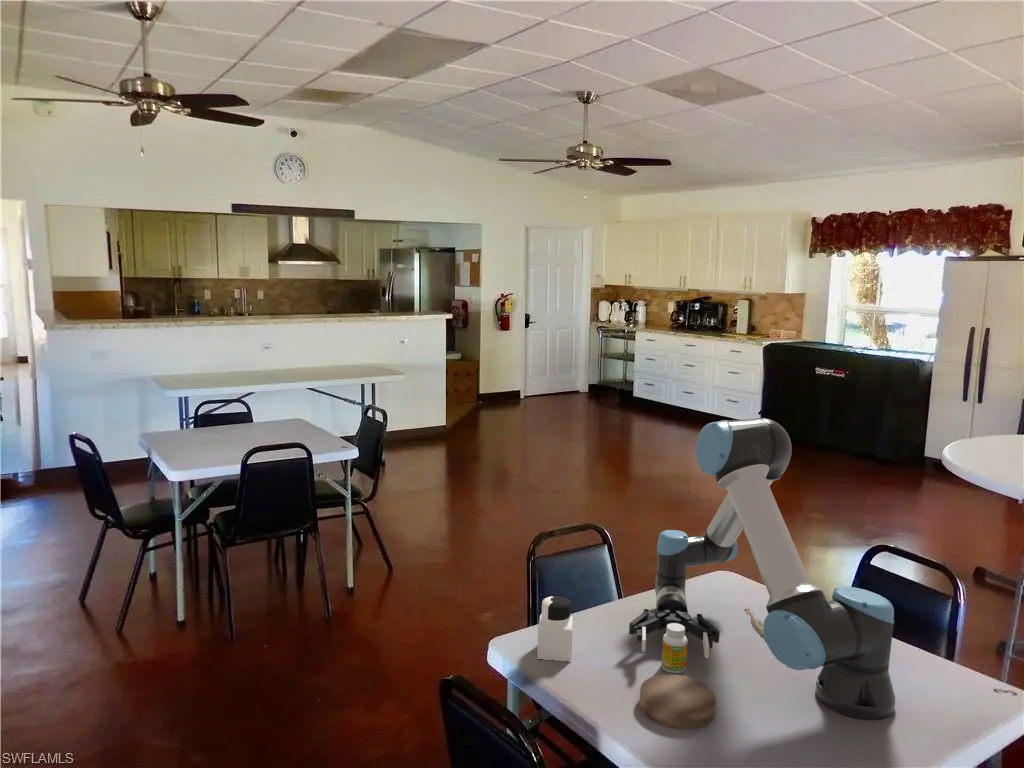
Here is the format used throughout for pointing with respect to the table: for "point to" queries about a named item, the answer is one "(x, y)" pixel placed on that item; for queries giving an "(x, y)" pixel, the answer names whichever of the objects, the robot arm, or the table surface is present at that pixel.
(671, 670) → the supplement bottle
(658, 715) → the walnut base
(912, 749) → the table surface
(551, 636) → the container
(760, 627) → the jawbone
